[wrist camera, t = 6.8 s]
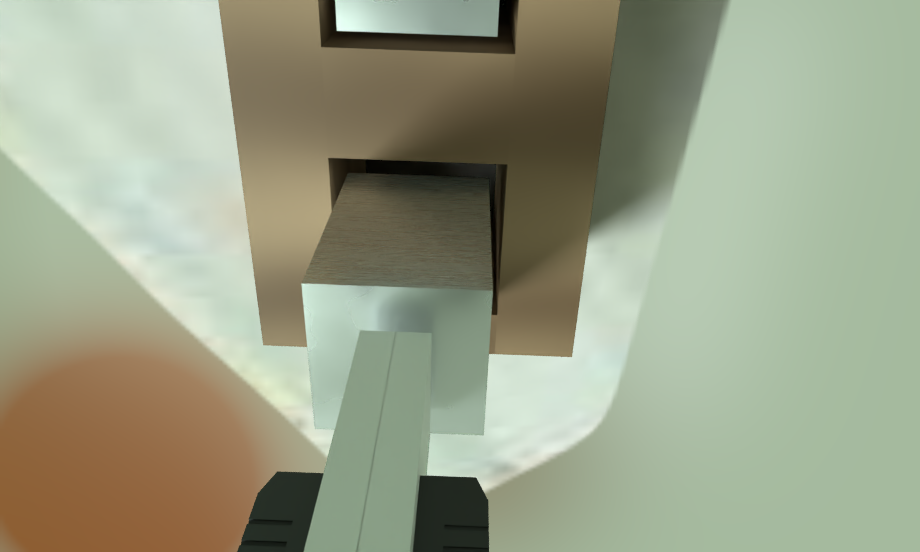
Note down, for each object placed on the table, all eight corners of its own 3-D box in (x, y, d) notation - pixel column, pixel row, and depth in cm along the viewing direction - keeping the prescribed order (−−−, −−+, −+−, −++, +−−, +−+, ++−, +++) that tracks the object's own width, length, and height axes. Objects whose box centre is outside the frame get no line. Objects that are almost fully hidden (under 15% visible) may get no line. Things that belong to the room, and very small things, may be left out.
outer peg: (348, 172, 20) (301, 283, 15) (488, 177, 20) (492, 290, 15) (354, 292, 22) (314, 428, 17) (482, 297, 22) (483, 435, 17)
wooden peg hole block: (267, -233, 21) (182, -273, 15) (603, -221, 21) (654, -256, 15) (308, 245, 29) (263, 345, 23) (552, 254, 29) (571, 356, 23)
